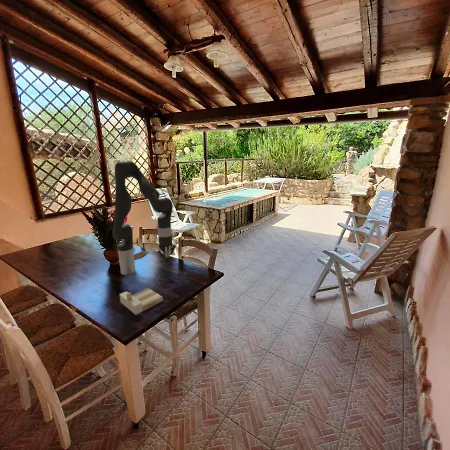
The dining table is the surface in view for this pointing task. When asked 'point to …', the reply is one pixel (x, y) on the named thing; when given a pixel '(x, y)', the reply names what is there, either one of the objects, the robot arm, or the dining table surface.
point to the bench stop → (131, 302)
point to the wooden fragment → (139, 255)
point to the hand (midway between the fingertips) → (167, 262)
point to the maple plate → (148, 298)
